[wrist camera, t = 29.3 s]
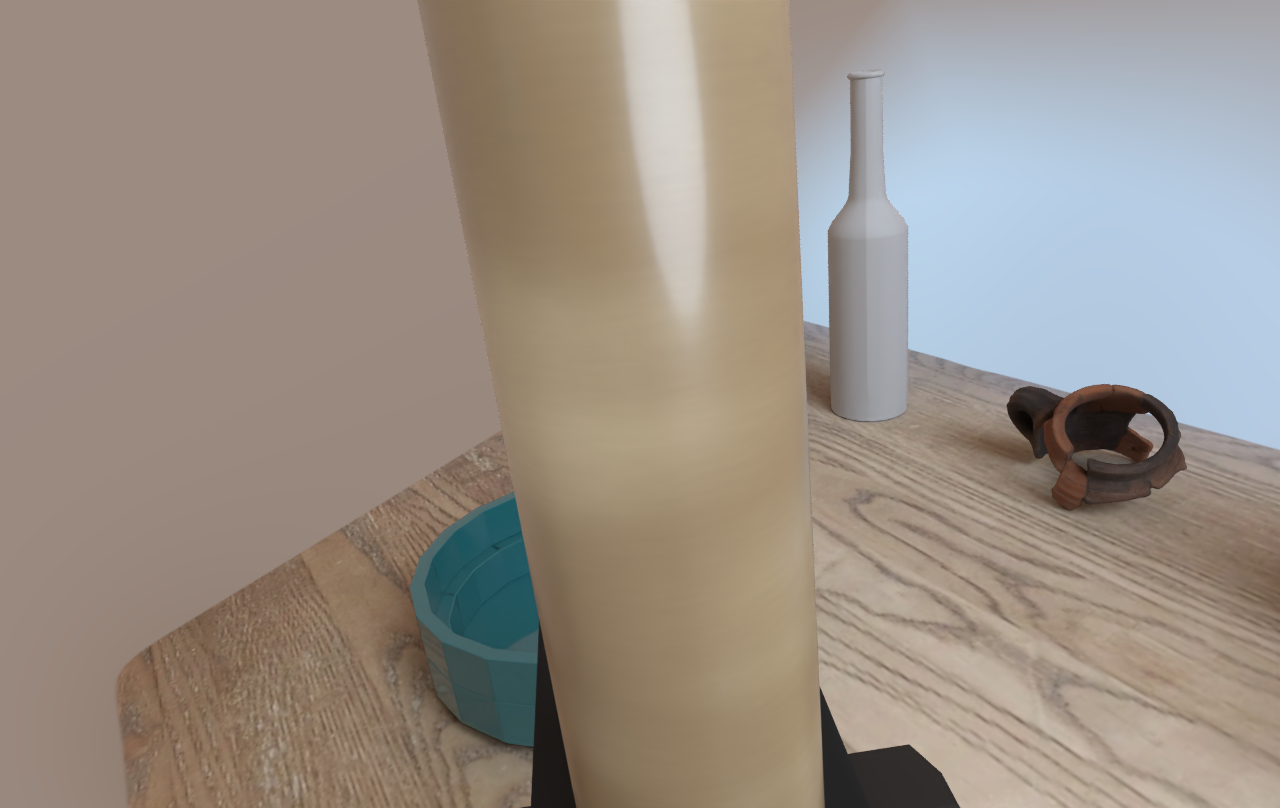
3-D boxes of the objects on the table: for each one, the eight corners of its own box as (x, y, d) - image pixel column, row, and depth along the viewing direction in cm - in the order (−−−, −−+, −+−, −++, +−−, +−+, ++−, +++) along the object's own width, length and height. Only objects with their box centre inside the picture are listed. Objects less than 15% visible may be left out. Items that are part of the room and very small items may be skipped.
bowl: (370, 738, 44) (342, 645, 42) (511, 544, 60) (496, 470, 58) (721, 783, 39) (711, 680, 36) (771, 557, 55) (766, 476, 53)
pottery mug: (1193, 474, 59) (1223, 406, 53) (1125, 573, 57) (1147, 513, 51) (1031, 400, 66) (1040, 332, 60) (963, 484, 64) (965, 423, 58)
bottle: (833, 391, 79) (825, 73, 68) (907, 392, 77) (910, 64, 66) (828, 421, 73) (818, 78, 63) (908, 422, 71) (912, 68, 61)
